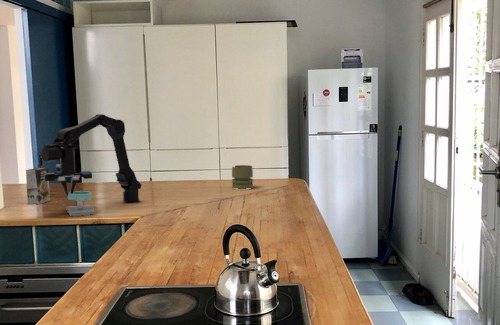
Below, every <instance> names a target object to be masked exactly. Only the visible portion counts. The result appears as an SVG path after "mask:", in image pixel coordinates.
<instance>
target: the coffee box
mask: <svg viewBox="0 0 500 325" xmlns="http://www.w3.org/2000/svg"><path fill="white" fill-rule="evenodd" d="M45 173H50V172H49V168H48V167H34V168H29V169H25V174H26V175H25V177H26V179H25V180H26V196H27V198H26V201H27V205H28V204H30V205H41V204H43V203H46V202H50V201H51V195H50V181H45V179H44V174H45Z"/></svg>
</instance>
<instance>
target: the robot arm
mask: <svg viewBox="0 0 500 325" xmlns="http://www.w3.org/2000/svg"><path fill="white" fill-rule="evenodd" d="M99 126H101V127H103V128H105V129H106V132H107V134H108V135H109V137H110V138H111V139H112V142H113V148H114V151H115V157H116V160H117V166H118V172H116V173H115V177H116V182H118V184H119V185H120V187H121V189H123V191H122V201H123V202H124V203H127V204H129V203H139V202H140V199H139V190H141V188H142V184H141V182H140V181H139V180H138V179H137V176H136V173H135V172H134V170H133V169H132V168H131V166H130V162H129V157H128V152H127V148H126V144H125V138H124V136H125V132H126V126H125V122H124V121H123V120H122V119H116V118H112V117H111V116H107V115H106V114H103V113H102V114H99V113H98V114H95V115H94V116H92V117H90V118H88V119H87V120H85V121H82V122H81V123H79V124H76V125H74V126H71V127H66V128H62V129H60V130H58V131H57V135H56V137H55V139H54V140H53V142H52V144H43V148H42V149H41V152H40V155H41V159H42V161H44V162H55V161H57V162H58V161H60V162H59V163H58V164H57V163H56V164H55V171H56V173H57V174H56V173H55V172H49V173H45V174H44V179H45V181H49V182H54V181H55V180H57V182H58V183H60V184H61V185H62V188H63V189H64V192H65V195H66V197H67V196H68V192H70V193H71V194H73V191H75V187H76V185H77V183H78V182H80V180H81V179H80V178H83V179H84V180H88V179H93V173H92V172H91V171H90V170H81V171H80V172H77V173H76V160H75V149H79V148H80V147H79V145H78V144H76V141H77V140H79V138H80V137H81V136H82V135H83V134H86V133H88V132H90V131H91V130H92V129H95V128H97V127H99ZM66 179H70V191H69V190H68V186H67V181H66Z"/></svg>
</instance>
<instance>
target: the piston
mask: <svg viewBox="0 0 500 325" xmlns="http://www.w3.org/2000/svg"><path fill="white" fill-rule="evenodd" d="M231 177H232V178H231V187H232V188H238V189H246V188H252V187H253V188H254V185H253V184H254V179H253V177H254V171H253V165H248V164H247V165H243V164H241V165H239V164H237V165H234V166H232V168H231ZM232 188H231V189H232Z"/></svg>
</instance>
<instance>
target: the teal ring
mask: <svg viewBox="0 0 500 325" xmlns="http://www.w3.org/2000/svg"><path fill="white" fill-rule="evenodd" d="M70 192H71V191H68V196H67V195H66V199H67V200H68V201H76V202H77V201H79V200H83V201H90V200H92V199H93V192H92V191H88V190H87V191H86V190H74V191H73V194H71V193H70Z"/></svg>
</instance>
